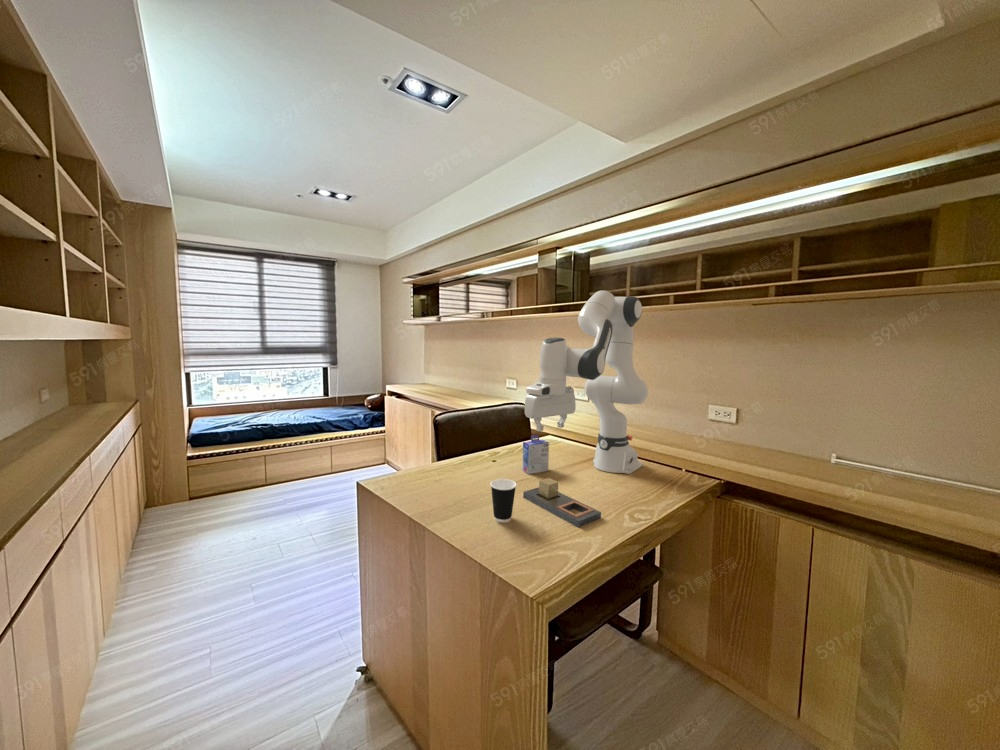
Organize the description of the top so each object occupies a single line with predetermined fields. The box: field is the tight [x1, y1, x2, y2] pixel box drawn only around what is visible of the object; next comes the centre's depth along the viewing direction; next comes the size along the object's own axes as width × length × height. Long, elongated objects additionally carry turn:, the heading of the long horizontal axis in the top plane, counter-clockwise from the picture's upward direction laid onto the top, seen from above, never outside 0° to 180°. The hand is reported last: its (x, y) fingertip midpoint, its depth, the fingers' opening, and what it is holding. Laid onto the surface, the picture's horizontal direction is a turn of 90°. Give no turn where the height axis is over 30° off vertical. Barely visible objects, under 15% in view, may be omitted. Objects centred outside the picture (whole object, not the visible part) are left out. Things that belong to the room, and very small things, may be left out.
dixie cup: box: [489, 478, 517, 523], centre depth 114 cm, size 8×8×11 cm
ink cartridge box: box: [522, 434, 550, 475], centre depth 155 cm, size 10×6×14 cm, turn 116°
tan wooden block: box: [538, 477, 559, 501], centre depth 127 cm, size 4×4×7 cm
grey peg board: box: [522, 486, 602, 529], centre depth 123 cm, size 10×25×2 cm, turn 37°
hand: (550, 429), depth 125 cm, fingers open, 8 cm apart
